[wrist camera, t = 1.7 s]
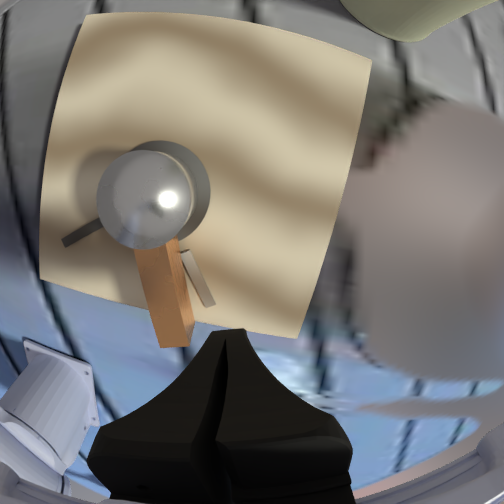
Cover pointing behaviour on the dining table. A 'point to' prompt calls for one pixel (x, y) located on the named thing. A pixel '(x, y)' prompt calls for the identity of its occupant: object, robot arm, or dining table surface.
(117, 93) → the base plate
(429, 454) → the dining table surface
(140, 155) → the wooden handled dome
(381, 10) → the can
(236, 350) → the robot arm
